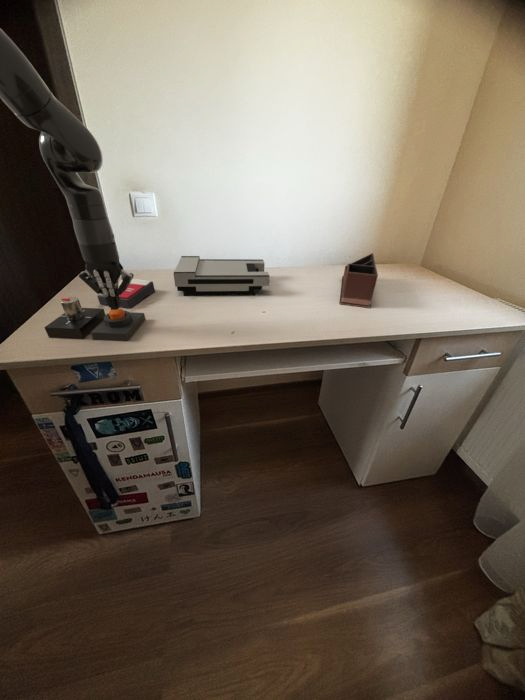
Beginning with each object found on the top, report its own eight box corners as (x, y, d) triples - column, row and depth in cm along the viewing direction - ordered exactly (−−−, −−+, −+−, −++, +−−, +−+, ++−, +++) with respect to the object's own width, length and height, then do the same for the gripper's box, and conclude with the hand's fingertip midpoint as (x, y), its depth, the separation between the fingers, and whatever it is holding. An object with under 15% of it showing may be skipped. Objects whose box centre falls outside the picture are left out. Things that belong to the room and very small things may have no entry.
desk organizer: (339, 304, 96) (345, 271, 90) (341, 277, 120) (347, 250, 114) (371, 308, 94) (380, 275, 88) (367, 280, 118) (374, 252, 112)
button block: (128, 341, 72) (124, 327, 70) (93, 339, 72) (88, 325, 70) (145, 319, 82) (142, 307, 80) (115, 318, 82) (111, 305, 80)
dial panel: (83, 339, 72) (79, 328, 70) (48, 337, 72) (43, 326, 70) (106, 317, 82) (103, 308, 80) (75, 316, 82) (72, 306, 80)
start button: (121, 320, 74) (119, 314, 73) (107, 320, 74) (106, 314, 73) (127, 314, 77) (125, 308, 76) (114, 314, 77) (112, 308, 76)
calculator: (95, 293, 87) (124, 276, 99) (99, 306, 90) (127, 287, 102) (127, 297, 85) (153, 279, 97) (130, 310, 88) (155, 290, 100)
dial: (87, 314, 77) (81, 296, 74) (78, 321, 74) (71, 302, 71) (73, 313, 77) (66, 295, 74) (63, 319, 74) (56, 301, 71)
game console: (268, 295, 100) (269, 273, 96) (176, 296, 97) (173, 273, 92) (262, 276, 117) (263, 256, 113) (184, 276, 114) (181, 256, 109)
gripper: (57, 241, 61) (82, 313, 71) (117, 244, 61) (135, 316, 71) (77, 234, 67) (98, 301, 77) (132, 236, 67) (146, 303, 77)
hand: (115, 308), depth 74 cm, fingers closed
